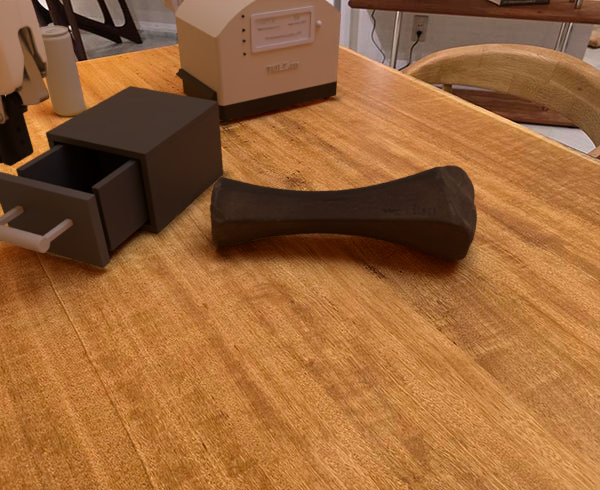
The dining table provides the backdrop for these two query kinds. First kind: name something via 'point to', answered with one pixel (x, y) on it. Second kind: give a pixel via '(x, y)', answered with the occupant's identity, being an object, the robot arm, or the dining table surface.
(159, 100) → the dark brown drawer cabinet
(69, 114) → the beverage can
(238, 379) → the dining table surface
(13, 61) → the robot arm
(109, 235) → the dark grey drawer
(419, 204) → the dark brown bone
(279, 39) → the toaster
